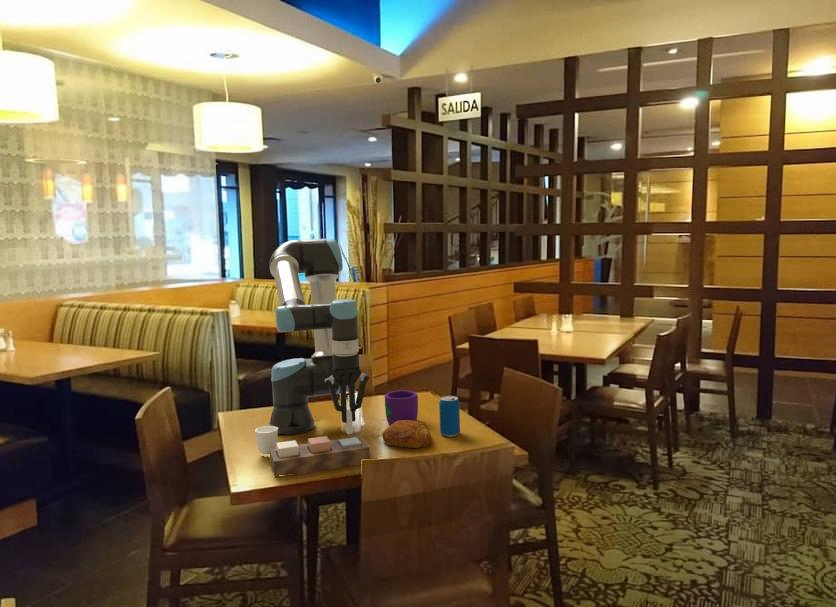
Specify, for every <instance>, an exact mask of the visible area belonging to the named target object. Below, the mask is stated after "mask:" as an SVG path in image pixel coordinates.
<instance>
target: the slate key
mask: <svg viewBox="0 0 836 607" xmlns="http://www.w3.org/2000/svg"><path fill="white" fill-rule="evenodd" d="M349 438H350V439H344V438H341V439H342V440H339V445H340V447H341V448H342V449H343V448H350V447H357V446H361V442H360V441H359V440H358V439H357V438H351V437H349Z"/></svg>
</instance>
